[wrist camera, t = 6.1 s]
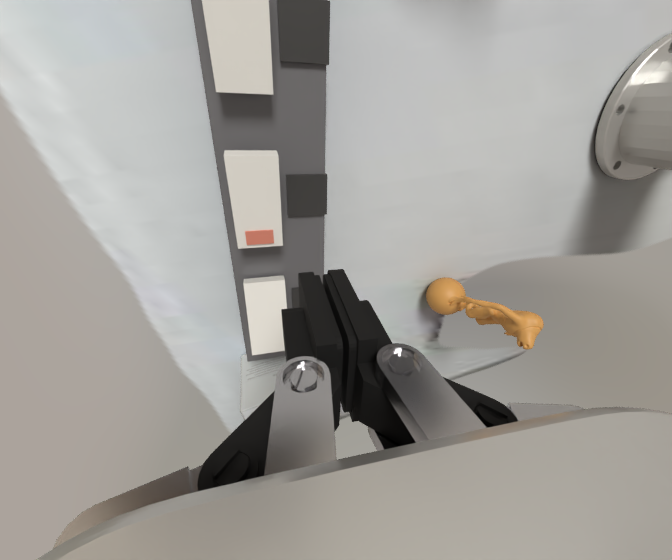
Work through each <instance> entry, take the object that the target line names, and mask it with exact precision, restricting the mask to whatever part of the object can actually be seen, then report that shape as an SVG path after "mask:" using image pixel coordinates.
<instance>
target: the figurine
mask: <svg viewBox="0 0 672 560" xmlns="http://www.w3.org/2000/svg"><path fill="white" fill-rule="evenodd" d="M426 299H427V302H428V304H429V306H430V307H431V309H433V310H434V311H435V312H437V313H439V314H443V315H449V314H453V313H456V312H457V311H461V310H463V309H464V308H466V315H467V316H468V317H470V318H476V321H477V323H478V324H480V325H484V324H501V325H502V326H503V328H504V329H505V330H506V331H507V332H506V333H504V334H507V335H512V336H514V337H517V344H518V346H519V347H521V346H523V348H524V349H532V348H533V346H534V342H535V338H536V336H537V335H538V334H539V332H540V331H541V330H542V328H543V325H544V324H543V320H542V318H541V317H540V316H538V315H537V314H535V313H532V312H528V311H512V310H510V309H508V308H507V307H505V306H503V305H501V304H497V303H492V302H487V301H482V300H475V299H471V298H469V297H466V294H465V290H464V288H463V286H462V285H461V284H460V283H459V282H458V281H456V280H454V279H452V278H440V279H437V280H435V281H434V282H432V283H431V284H430V286H429V287H428V289H427V293H426ZM465 302H466V303H465ZM478 305H479V306H478ZM480 306H481V307H480ZM472 308H473V309H472Z"/></svg>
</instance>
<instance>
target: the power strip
mask: <svg viewBox="0 0 672 560" xmlns="http://www.w3.org/2000/svg"><path fill="white" fill-rule="evenodd" d="M191 4H192V10H193V17H194V23H195V29H196V36H197V42H198V48H199V55H200V61H201V68H202V74H203V80H204V87H205V93H206V99H207V106H208V112H209V119H210V125H211V131H212V138H213V144H214V150H215V157H216V163H217V169H218V176H219V182H220V189H221V195H222V201H223V208H224V214H225V220H226V227H227V233H228V240H229V246H230V252H231V259H232V265H233V271H234V278H235V284H236V291H237V297H238V303H239V310H240V316H241V322H242V329H243V335H244V341H245V348H246V354H247V361H248V362H249V361H256V360H262V359H269V358H276V357H282V356H285V351H279V352H272V353H265V354H259V355H252V350H251V342H250V334H249V326H248V318H247V309H246V301H245V293H244V285H243V283H244V279H249V278H260V277H271V276H282V275H283V276H284V279H285V289H286V302H287V309H289V308H298V307H299V285H298V273H302V272H314V275H319V276H320V278H321V281H322V284H323V275H324V214H327V174H325V117H326V65H329V29H330V1H327V0H269V15H270V35H271V56H272V77H273V95H270V94H247V93H224V92H216V88H215V82H214V75H213V69H212V62H211V56H210V50H209V43H208V37H207V31H206V24H205V18H204V11H203V5H202V0H191ZM225 150H277V153H278V157H279V177H280V197H281V217H282V237H283V246H271V247H257V248H242V249H238V245H237V239H236V232H235V226H234V219H233V213H232V206H231V200H230V194H229V187H228V181H227V174H226V168H225V161H224V151H225Z"/></svg>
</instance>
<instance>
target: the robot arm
mask: <svg viewBox="0 0 672 560" xmlns="http://www.w3.org/2000/svg"><path fill="white" fill-rule="evenodd" d="M595 152H596V157H597V162H598V164H599V166H600V168H601V170H602V171H603V172H604V173H605V174H606V175H608V176H611V177H613V178H618V179H622V180H634V179H638V178H642V177H644V176H647V175H649V174H651V173H653V172H655V171H656V170H658V169H659V168H661V169H667V170H672V33H671V34H669V35H667V36H665V37H663V38H662V39H660V40H659V41H657V42H656V43H654V44H653V45H652V46H650V47H649V48H648V49H647V50H646V51H645V52H644V53H642V54H641V55H640V56H639V57H638V58H637V60H636V61H635V62H634V63H633V64H632V65H631V66H630V67H629V69H628V70H627V71H626V72H625V74H624V75H623V77H622V78H621V79H620V81H619V82H618V83H617V85H616V87H615V89H614V90H613V92H612V94H611V95H610V97H609V99H608V101H607V104H606V106H605V108H604V110H603V113H602V115H601V119H600V122H599V125H598V129H597V135H596V143H595ZM298 285H299V307H298V308H289V309H281V313H282V326H283V337H284V347H285V357H286V363H284V364H283V365H282V366H281V368H280V369H279V370H278V374H277V377H276V385H275V391H274V392H273V393H272V394H271V395H270V396H269V397H268V398H267V399H266V400H265V401H264V402H263V403H262V404H261V405H260V406H259V407H258V408H257V409H256V410H255V411H254V412H253V413H252V414H251V415H250V416H249V417H248V418H247V419H246V420H245V421H244V422H243V423H242V424H241V425H240V426H239V427H238V428H237V429H236V430H235V431H234V432H233V433H232V434H231V435H230V436H229V437H228V438H227V439H226V440H225V441H224V442H223V443H222V444H221V445H220V446H219V447H218V448H217V449H216V450H215V451H214V452H213V453H212V454H211V455H210V456H209V458H208V459H207V460H206V461H205V462H204V464H203V465H201V466H199V467H196V468H194V469H192V470H189V467H185V468H183V469H181V470H178V471H176V472H173V473H171V474H168V475H166V476H163V477H161V478H159V479H156V480H154V481H151V482H149V483H147V484H144V485H142V486H139V487H137V488H135V489H132V490H130V491H127V492H125V493H123V494H120V495H118V496H115V497H113V498H110V499H108V500H106V501H103V502H101V503H99V504H96V505H94V506H92V507H91V508H89V509H87V510H85V511H84V512H82V513H81V514H79V515H78V516H77V517H76V518H75V519H74V520H73V521H72V522H70V523H69V524H68V525H67V527H66V528H65V529H64V531H63V532H62V533H61V535H60V536H59V537H58V539H57V541H56V543H55V545H54V548H53V549H52V550H51V551H49V552H48V553H46V554H45V555H43V556H41V557H40V558H38V559H36V560H672V413H668V412H662V411H656V410H650V409H644V408H629V407H605V408H591V409H583V408H581V407H578V406H572V405H558V404H531V403H508V405H507V407H506V406H505V405H503V404H502V403H500V402H498V401H496V400H495V399H492V398H490V397H488V396H486V395H483V394H481V393H479V392H476V391H474V390H471V389H469V388H467V387H465V386H462V385H460V384H458V383H455V382H453V381H451V380H449V379H446V378H444V377H442V376H441V375H440V374H439V372H438V371H437V370H436V369H435V368H434V367H433V366H432V364H431V363H430V362H429V361H428V360H427V359H426V358H425V356H424V355H423V354H422V353H421V352H419V351H418V350H417V349H415V348H413V347H411V346H409V345H405V344H399V343H394V344H392V342H391V340H390V338H389V336H388V335H387V333H386V331H385V329H384V328H383V326H382V324H381V322H380V320H379V319H378V317H377V315H376V313H375V311H374V310H373V308H372V306H371V304H370V303H369V301H367V300H364V301H359V299H358V297H357V295H356V293H355V291H354V289H353V287H352V285H351V283H350V281H349V280H348V278H347V276H346V274H345V272H344V270H343V269H338V270H328V274H324V275H323V284H322V281H321V278H320V276H319V275H314V272H302V273H298ZM340 402H341V404H342V408H343V411H344V412H350V416H351V419H352V422H354V421H360V422H361V423H363V424H365V425H366V426H368V432H369V435H370V437H371V439H372V441H373V443H374V445H375V447H376V449H377V451H376V452H372V453H367V454H362V455H357V456H353V457H348V458H343V459H339V460H336V446H335V433H334V432H335V430H336V429H337V427H338V426H339V417H340Z"/></svg>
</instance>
